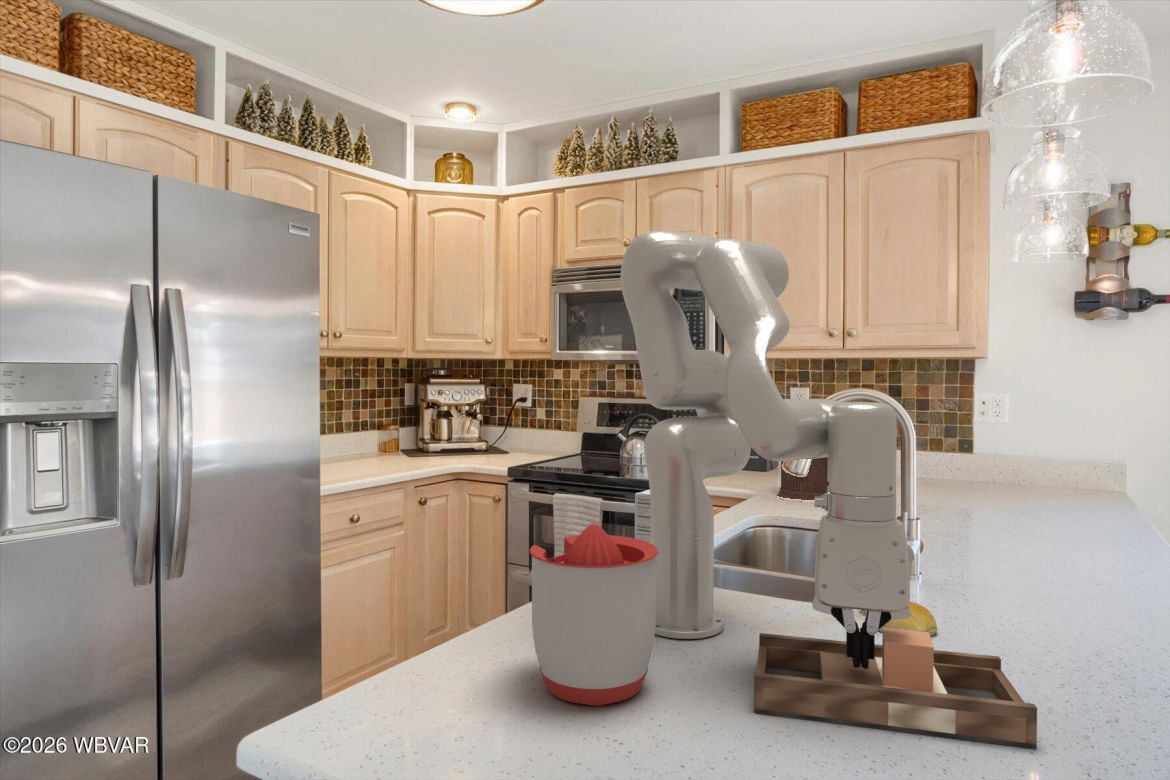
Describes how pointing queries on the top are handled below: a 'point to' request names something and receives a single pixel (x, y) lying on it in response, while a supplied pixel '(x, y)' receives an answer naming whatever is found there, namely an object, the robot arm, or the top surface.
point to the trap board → (891, 693)
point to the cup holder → (806, 482)
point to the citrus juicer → (594, 616)
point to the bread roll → (915, 620)
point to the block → (907, 659)
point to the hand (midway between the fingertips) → (860, 663)
